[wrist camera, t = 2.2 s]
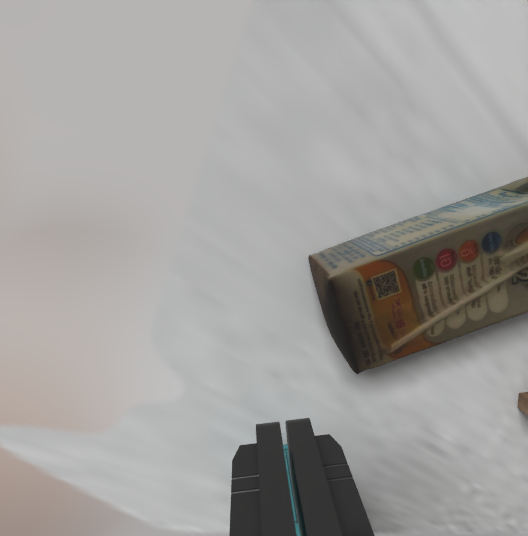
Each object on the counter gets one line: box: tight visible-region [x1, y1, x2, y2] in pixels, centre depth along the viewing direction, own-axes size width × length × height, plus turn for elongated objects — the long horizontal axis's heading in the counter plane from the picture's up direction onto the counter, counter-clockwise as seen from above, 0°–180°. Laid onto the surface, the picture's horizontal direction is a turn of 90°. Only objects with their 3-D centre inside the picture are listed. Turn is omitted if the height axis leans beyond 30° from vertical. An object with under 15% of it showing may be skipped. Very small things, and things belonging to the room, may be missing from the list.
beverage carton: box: [309, 177, 528, 374], centre depth 24 cm, size 8×19×7 cm, turn 110°
